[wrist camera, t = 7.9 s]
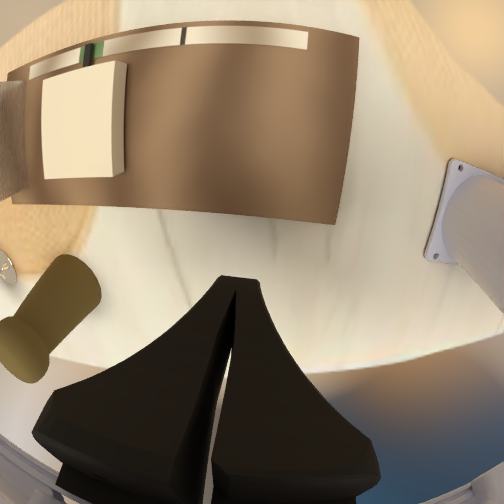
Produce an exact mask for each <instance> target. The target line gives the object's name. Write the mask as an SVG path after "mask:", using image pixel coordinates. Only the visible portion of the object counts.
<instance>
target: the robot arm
mask: <svg viewBox="0 0 504 504" xmlns="http://www.w3.org/2000/svg"><path fill="white" fill-rule="evenodd" d="M459 165H460V170H458V167H459ZM434 254H436V255H435V256H434ZM433 256H434V257H433ZM424 257H425V258H426V259H427V260H428V261H433V262H442V263H451V264H459V265H460V266H461V267H462V268H463V269H464V270H465V271H466V272H467V273H468V274H469V275H470V276H471V277H472V278H473V279H474V281H475V282H476V283H477V284H478V285H479V286H480V287H481V288H482V290H483V291H484V292H485V293H486V294H487V295H488V296H489V298H490V299H491V300H492V301H493V302H494V304H495V305H496V306H497V307H498V308H499V310H500V311H501V312H502V313H503V315H504V179H502V178H500V177H498V176H496V175H493V174H491V173H489V172H486V171H484V170H482V169H479V168H477V167H475V166H472V165H470V164H467V163H464V162H462V161H459V160H456V159H451V160H450V161H449V164H448V169H447V174H446V179H445V183H444V187H443V192H442V196H441V200H440V204H439V207H438V211H437V215H436V218H435V222H434V225H433V228H432V232H431V235H430V238H429V241H428V244H427V247H426V250H425V253H424ZM231 347H232V350H231ZM230 351H231V361H230V367H229V372H228V377H227V383H226V389H225V394H224V398H223V404H222V409H221V414H220V419H219V424H218V428H217V433H216V438H215V443H214V447H213V452H212V457H211V463H212V475H213V485H214V487H213V493H212V500H211V504H356V496H358V495H360V494H362V493H363V492H365V491H367V490H369V489H371V488H372V487H373V486H375V485H377V483H378V482H379V481H380V478H381V475H380V469H379V463H378V460H377V456H376V453H375V451H374V447H373V445H372V442H371V440H370V439H369V438H368V437H366V436H365V435H364V434H362V433H361V432H360V431H359V430H358V429H356V428H355V427H354V426H353V425H351V424H350V423H349V422H348V421H347V420H346V419H345V418H344V417H343V416H342V415H341V414H340V413H339V412H337V410H335V408H334V407H332V405H331V404H330V403H328V402H327V400H326V399H325V398H324V397H323V396H322V395H321V393H320V392H319V391H318V390H317V389H316V388H315V386H314V385H313V384H312V383H311V382H310V381H309V380H308V378H307V377H306V376H305V374H304V373H303V372H302V370H301V369H300V367H299V366H298V365H297V363H296V362H295V360H294V359H293V357H292V356H291V354H290V353H289V351H288V349H287V348H286V346H285V344H284V343H283V341H282V339H281V337H280V335H279V333H278V332H277V330H276V328H275V326H274V323H273V321H272V319H271V317H270V314H269V312H268V310H267V307H266V305H265V302H264V299H263V296H262V292H261V288H260V282H259V281H258V280H257V279H248V278H240V277H231V276H223V275H221V276H219V277H218V278H217V279H216V281H215V282H214V283H213V285H212V286H211V287H210V288H209V290H208V291H207V292H206V293H205V294H204V295H203V297H202V298H201V299H200V300H199V301H198V302H197V303H196V304H195V305H194V306H193V307H192V308H191V309H190V310H189V311H188V312H187V313H186V314H185V315H184V316H183V317H182V318H181V319H180V320H179V321H178V322H176V323H175V324H174V325H173V326H172V327H171V328H170V329H168V330H167V331H166V332H165V333H164V334H162V335H161V336H160V337H158V338H157V339H156V340H154V341H153V342H152V343H150V344H149V345H147V346H146V347H144V348H143V349H141V350H140V351H138V352H137V353H135V354H134V355H132V356H131V357H129V358H127V359H126V360H124V361H122V362H120V363H118V364H116V365H114V366H112V367H111V368H109V369H107V370H105V371H103V372H101V373H99V374H97V375H94V376H92V377H90V378H87V379H85V380H82V381H80V382H77V383H74V384H71V385H69V386H66V387H63V388H60V389H57V390H55V391H54V392H53V394H52V395H51V396H50V398H49V399H48V401H47V403H46V405H45V407H44V408H43V411H42V412H41V414H40V416H39V418H38V420H37V422H36V424H35V426H34V428H33V430H32V434H33V437H34V438H35V440H36V441H37V442H38V443H39V444H40V445H41V446H42V447H44V448H45V449H46V450H47V451H48V452H50V453H51V454H52V455H53V456H54V457H56V458H57V459H58V460H59V461H61V462H62V463H63V465H62V467H61V470H60V473H59V472H57V471H55V470H53V469H52V468H50V467H48V466H47V465H45V464H43V463H41V462H40V461H38V460H37V459H35V458H34V457H32V456H31V455H29V454H28V453H26V452H25V451H23V450H22V449H20V448H19V447H17V446H16V445H15V444H13V443H12V442H10V441H9V440H8V439H6V438H5V437H4V436H2V435H1V434H0V504H66V503H65V501H64V498H63V496H62V495H64V496H66V497H68V498H70V499H72V500H74V501H76V502H78V503H80V504H203V495H204V487H205V479H206V472H207V464H208V456H209V449H210V443H211V436H212V429H213V423H214V416H215V410H216V404H217V400H218V396H219V393H220V389H221V385H222V381H223V378H224V374H225V370H226V366H227V363H228V359H229V355H230ZM60 493H61V494H62V495H61V494H60ZM421 504H504V462H502V463H501V464H499V465H497V466H496V467H494V468H492V469H491V470H489V471H487V472H486V473H484V474H482V475H481V476H479V477H477V478H476V479H474V480H473V481H472V482H471V483H468V484H466V485H464V486H462V487H460V488H458V489H456V490H453V491H451V492H449V493H447V494H444V495H442V496H439V497H437V498H434V499H431V500H429V501H426V502H423V503H421Z"/></svg>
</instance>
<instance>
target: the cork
mask: <svg viewBox="0 0 504 504" xmlns="http://www.w3.org/2000/svg"><path fill="white" fill-rule="evenodd" d="M100 300H101V288H100V286H99V283H98V280H97V278H96V277H95V275H94V274H93V272H92V270H91V269H90V268H89V267H88V266H87V265H86V264H85V263H84V262H82V261H81V260H79V259H78V258H76V257H74V256H71V255H60V256H58V257H57V258H55V260H54V261H53V262H52V263H51V265H50V266H49V267H48V268H47V270H46V271H45V272H44V274H43V275H42V276H41V278H40V279H39V280H38V282H37V283H36V284H35V286H34V287H33V288H32V290H31V291H30V293H29V294H28V295H27V297H26V298H25V300H24V301H23V303H22V304H21V306H20V307H19V309H18V310H17V312H16V313H15V315H14V316H12V317H6V318H4V319H3V320H1V321H0V362H1V363H2V364H3V365H4V367H5V368H6V369H7V370H8V371H9V372H10V373H12V374H13V375H14V376H15V377H17V378H18V379H20V380H21V381H23V382H26V383H35V382H38V381H39V380H40V379H41V378H42V377H43V376H44V375H45V373H46V372H47V370H48V366H49V354H50V353H51V352H52V351H53V350H54V349H55V348H56V347H57V346H58V345H59V343H60V342H61V341H62V340H63V339H64V338H65V337H66V336H67V335H68V334H69V333H70V332H71V331H72V330H73V329H74V328H75V327H76V326H77V325H78V324H79V323H80V322H81V321H82V320H83V319H84V318H85V317H86V316H87V315H88V314H89V313H90V312H91V311H92V310H93V309H94V308H95V307H96V306H97V305H98V304H99V303H100Z"/></svg>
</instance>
